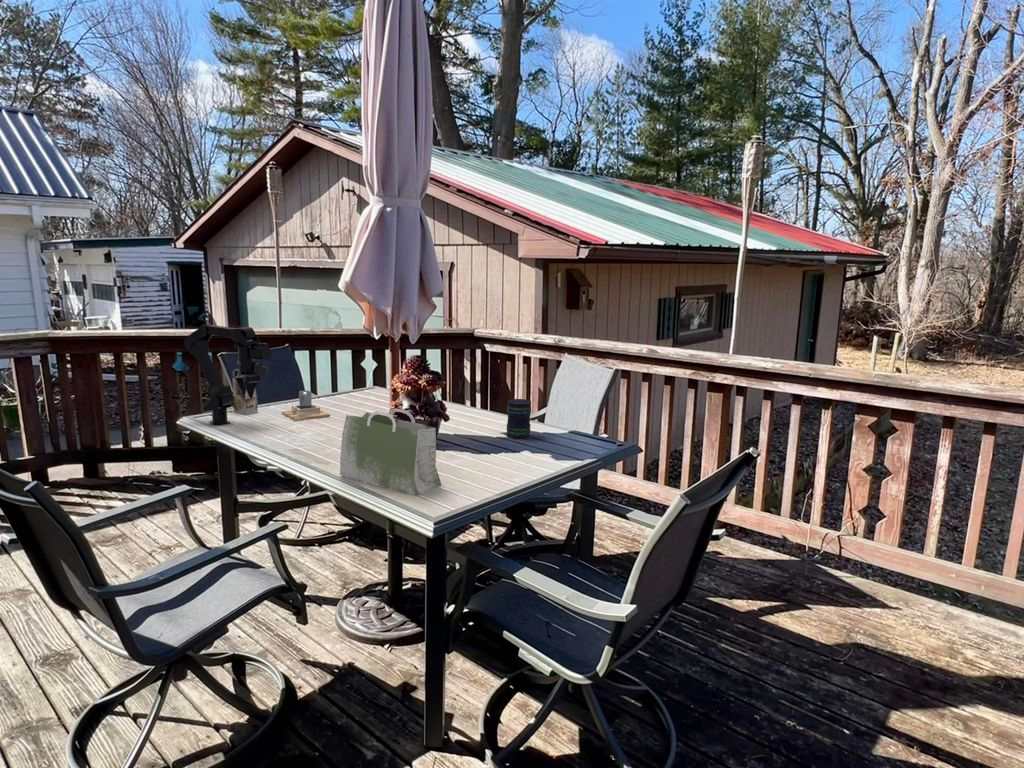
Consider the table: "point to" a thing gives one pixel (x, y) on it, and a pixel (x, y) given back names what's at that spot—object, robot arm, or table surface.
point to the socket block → (305, 413)
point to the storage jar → (518, 418)
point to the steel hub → (305, 399)
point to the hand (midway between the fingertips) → (247, 395)
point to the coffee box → (244, 401)
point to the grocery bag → (390, 452)
